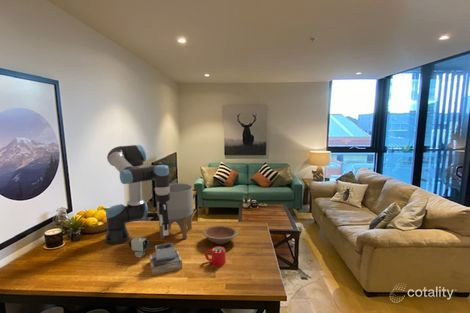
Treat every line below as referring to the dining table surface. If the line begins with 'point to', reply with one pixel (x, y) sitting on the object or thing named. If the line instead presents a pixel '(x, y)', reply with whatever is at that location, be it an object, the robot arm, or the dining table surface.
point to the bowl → (220, 233)
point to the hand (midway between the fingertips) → (164, 230)
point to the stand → (165, 264)
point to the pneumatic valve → (139, 245)
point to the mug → (216, 256)
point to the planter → (179, 207)
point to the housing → (164, 252)
